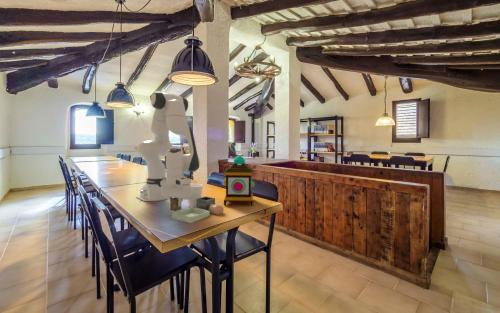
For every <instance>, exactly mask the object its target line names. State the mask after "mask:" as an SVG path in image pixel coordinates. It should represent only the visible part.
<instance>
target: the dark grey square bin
mask: <svg viewBox="0 0 500 313" xmlns="http://www.w3.org/2000/svg"><path fill="white" fill-rule="evenodd" d="M211 204H214V205H216V198H215V197H210V196H203V197H202V196H201V198H198V199H197V207H196V208H198V209H202V210H207V211H209V207H210V205H211Z"/></svg>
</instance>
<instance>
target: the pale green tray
mask: <svg viewBox="0 0 500 313" xmlns="http://www.w3.org/2000/svg"><path fill="white" fill-rule="evenodd" d="M210 214H211V213H210V211H207V210H202V209H198V208H197V207H195V208H194V207H188V208H185V209H181V210H177V211H174V212H172V213H171V218H172V219H174V220H178V221H182V222H185V223H189V224H193V223H195V222H198V221H199V220H203V219H205V218H207V217H208V218H209V217H210Z"/></svg>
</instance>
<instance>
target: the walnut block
mask: <svg viewBox="0 0 500 313" xmlns="http://www.w3.org/2000/svg"><path fill="white" fill-rule="evenodd" d="M178 202H179V200H178V198H174V197H173V198H171V199H170V201H169V205H170V206H169V207H170V208H169V209H170V211H174V212H177V211H181V210H182V205H181V206H180V207H179V206H177V203H178Z"/></svg>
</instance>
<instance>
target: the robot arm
mask: <svg viewBox="0 0 500 313" xmlns="http://www.w3.org/2000/svg"><path fill="white" fill-rule="evenodd" d="M150 99H151V100H150V103H151V106H152V108H154V111H153V116H152V122H151V126H150V131H151V133H153V136H154V140H144V141H141V142H140V143H139V144H138V146H137V152H138V154H139V155H140V157H142V158H143V159H144V161H145V163H146V167H147V178H146V182H145V184H144V185H143V186H142V187H141V188H140V191H139V192H140V194H138V195H136V198H137V199H139V200H141V201H143V202H158V201H165V200H167V199H168V201H169V202H170V199H171V198H178V200H179V202H178V203H177V206H179V207H180V206H181V207H182V203H183V201H184V200H188V199H190V198H191V185H190V184H192V180H191V179H190V178H188V177H187V176H185V173H184V172H190V173H191V172H192V173H194V172H196V171H197V170H199V168H200V166H201V161H200V160H201V159H200V157H199V155H198V150H197V145H196V141H195V140H196V139H195V135H194V133H193V129H192V127H191V126H189V125H188V123H187V114H186V112H188V108H189V101H188V99H187V98H186V97H184V96H180V95H178V94H173V93H168V92H163V91H155V92H153V93H152V95H151V98H150ZM170 132H171V133H172V134H175V135H176V136H180V137H183V138H185V139H186V141H187V144H188V149H189V153H183V150H182V149H180V148H174V146H173V144H172V142H171V141H170V136H169V134H170ZM161 157H165V158H164V163H163V162H162V161H161Z"/></svg>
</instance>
